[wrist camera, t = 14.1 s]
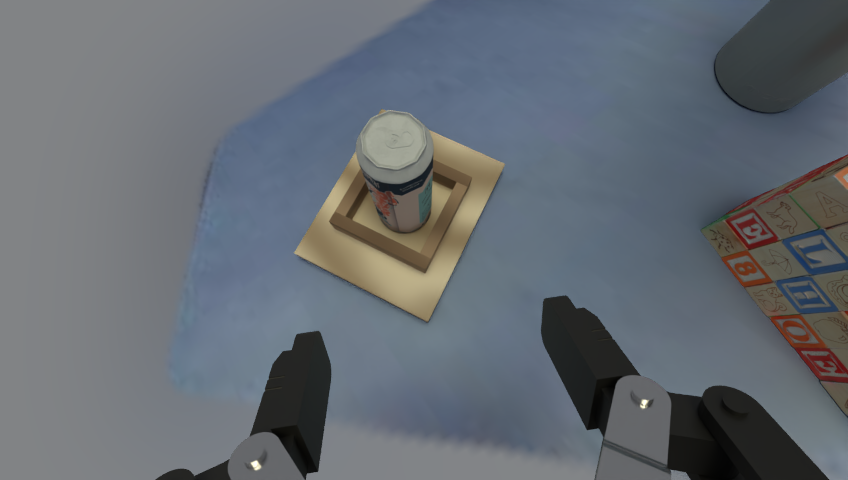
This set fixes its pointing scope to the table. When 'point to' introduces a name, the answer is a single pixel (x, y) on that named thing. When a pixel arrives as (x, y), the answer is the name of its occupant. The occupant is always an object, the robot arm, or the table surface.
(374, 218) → the base board
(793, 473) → the robot arm
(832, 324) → the stack of blocks
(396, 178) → the beer can
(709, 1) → the table surface
